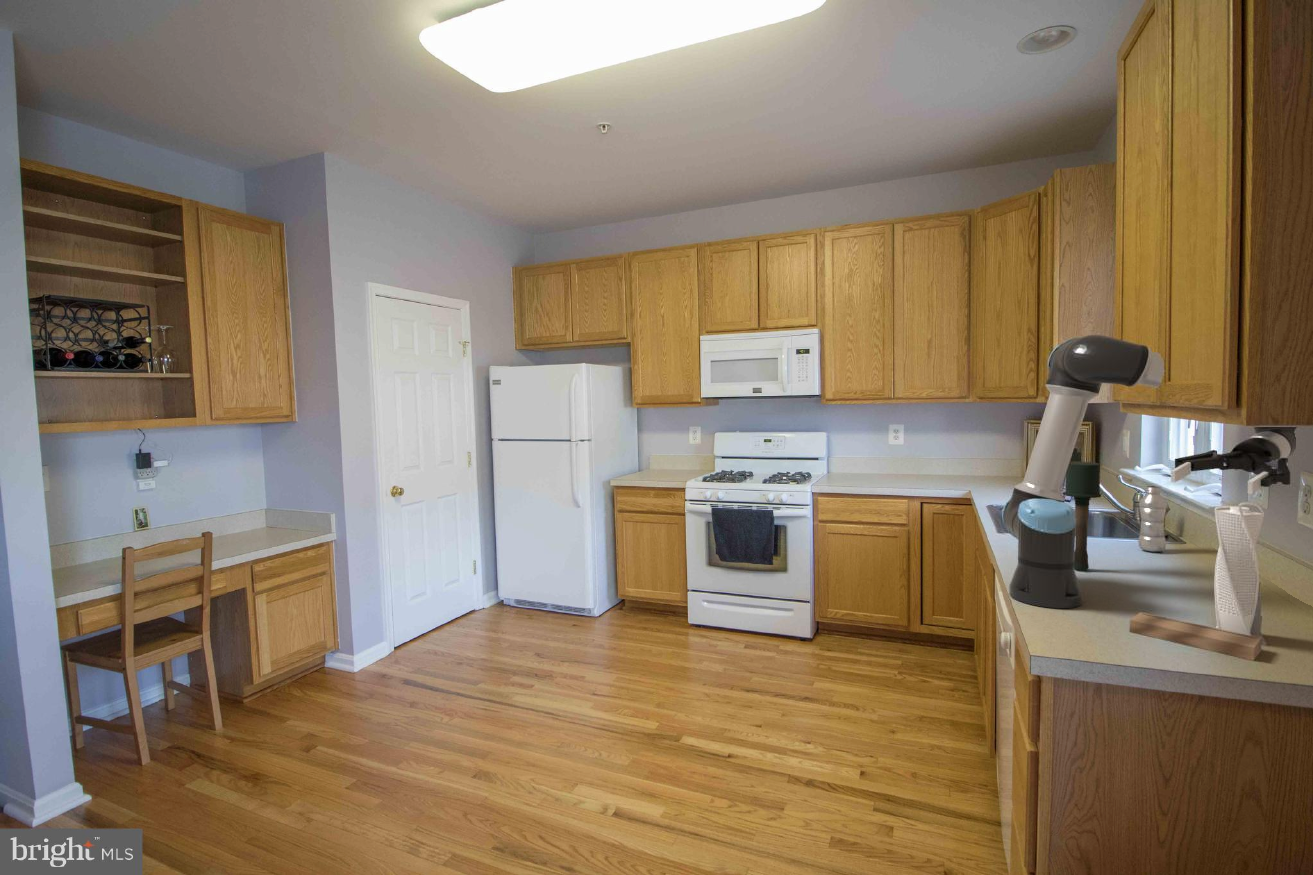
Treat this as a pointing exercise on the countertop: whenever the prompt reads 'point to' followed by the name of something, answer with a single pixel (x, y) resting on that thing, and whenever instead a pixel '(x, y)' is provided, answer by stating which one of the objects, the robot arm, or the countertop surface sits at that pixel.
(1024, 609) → the countertop surface
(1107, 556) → the countertop surface
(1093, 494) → the stick grenade
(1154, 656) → the countertop surface
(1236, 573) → the skyscraper
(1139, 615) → the board
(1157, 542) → the ribbed metallic bottle
